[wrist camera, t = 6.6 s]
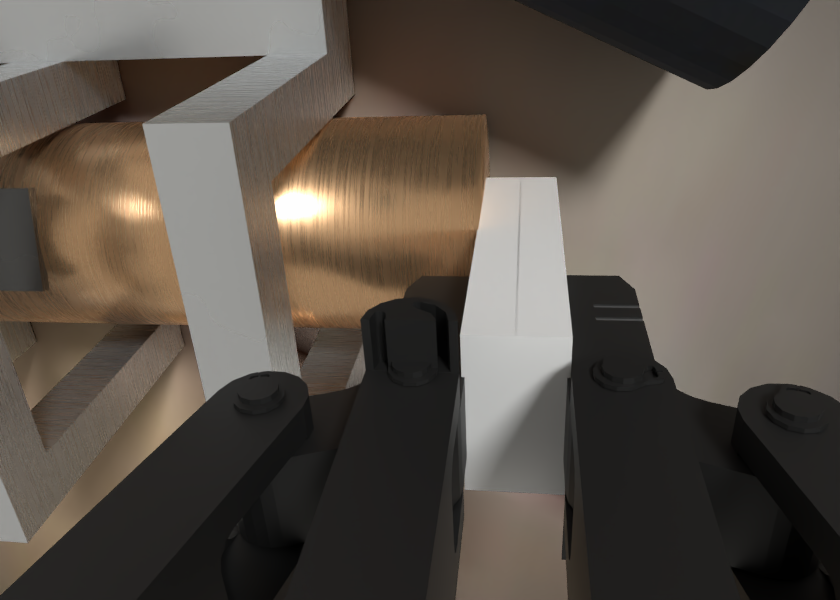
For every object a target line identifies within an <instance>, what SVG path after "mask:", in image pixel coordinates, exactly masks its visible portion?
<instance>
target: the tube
mask: <svg viewBox="0 0 840 600" xmlns="http://www.w3.org/2000/svg"><path fill="white" fill-rule="evenodd" d="M143 123H145V122H116V123H73V124H71V125H69V126H67V127H65V128H62V129H60V130H58V131H56V132H54V133H52V134H49V135H47V136H45V137H43V138H41V139H39V140H37V141H34V142H32V143H30V144H28V145H26V146H24V147H21V148H19V149H17V150H15V151H13V152H11V153H9V154H6V155H4V156H2V157H0V321H21V322H69V323H117V324H165V325H188V321H187V317H186V312H185V308H184V303H183V299H182V295H181V290H180V286H179V282H178V277H177V273H176V269H175V264H174V260H173V256H172V251H171V247H170V243H169V238H168V234H167V230H166V225H165V221H164V217H163V212H162V208H161V204H160V199H159V195H158V190H157V186H156V182H155V177H154V173H153V169H152V164H151V160H150V156H149V151H148V147H147V143H146V138H145V134H144V130H143V125H142V124H143ZM486 178H490V166H489V140H488V126H487V118H486V115H442V116H395V117H349V118H331V119H330V120H329V121H328V122H327V124H326V125H325V126H324V127H323V128H322V129H321V130H320V131H319V132H318V133H317V134H316V135H315V136H314V137H313V138H312V139H311V140H310V141H309V142H308V143H307V145H306V146H305V147H304V148H303V149H302V150H301V151H300V152H299V153H298V154H297V155H296V156H295V157H294V158H293V159H292V160H291V161H290V162H289V163H288V164H287V165H286V167H285V168H284V169H283V170H282V171H281V172H280V173H279V174H278V175H277V176H276V177H275V178H274V179H273V180H272V181H271V182H272V188H273V195H274V202H275V208H276V215H277V221H278V228H279V235H280V241H281V248H282V254H283V261H284V268H285V274H286V281H287V287H288V294H289V301H290V307H291V314H292V320H293V327H308V328H356V329H361V322H360V319H361V318H362V317H363V315H364V314H365V313H366V312H367V310H369V309H371V308H373V307H374V306H376V305H378V304H380V303H383V302H387V301H390V300H394V299H399V298H404V295H405V292H406V289H407V288H408V287H409V286H410V285H412V284H413V283H414V282H415V281H416V280H418V279H419V278H420V277H421V276H470V271H471V265H472V259H473V253H474V247H475V241H476V235H477V230H478V227H479V221H480V215H481V209H482V202H483V196H484V190H485V184H486Z"/></svg>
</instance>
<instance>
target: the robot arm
mask: <svg viewBox="0 0 840 600" xmlns="http://www.w3.org/2000/svg"><path fill="white" fill-rule="evenodd" d="M360 322H361V331H362V341H363V350H364V360H365V369H366V371H365V374H364V376H363V379H362V382H361V383H360V384H358V385H356V386H353V387H351V388H348V389H344V390H340V391H335V392H330V393H324V394H318V395H312V396H309V392H308V386H307V384H306V383H305V382H304V381H303V380H302V379H301V378H300V377H298V376H295V375H293V374H290V373H287V372H278V371H262V372H259V373H258V372H256V373H251V374H248V375H246V376H243V377H240V378H238V379H235V380H233V381H231V382H230V383H228V384H227V385H225V386H224V387H222V388H221V389H220V390H218V391H217V392H216V393H215V394H214V395H213V396H212V397H211V398H210V399H209V400H208V401H207V402H206V403H204V404H203V405H202V406H201V407H200V408H199V409H198V410H197V411H196V412H195V413H194V414H193V415H192V416H191V417H190V418H189V419H187V420H186V421H185V422H184V423H183V424H182V425H181V426H180V427H179V428H178V429H177V430H176V431H175V432H174V433H173V434H172V435H170V436H169V437H168V438H167V439H166V440H165V441H164V442H163V443H162V444H161V445H160V446H159V447H158V448H157V449H156V450H155V451H153V452H152V453H151V454H150V455H149V456H148V457H147V458H146V459H145V460H144V461H143V462H142V463H141V464H140V465H139V466H137V467H136V468H135V469H134V470H133V471H132V472H131V473H130V474H129V475H128V476H127V477H126V478H125V479H124V480H123V481H122V482H120V483H119V484H118V485H117V486H116V487H115V488H114V489H113V490H112V491H111V492H110V493H109V494H108V495H107V496H106V497H105V498H103V499H102V500H101V501H100V502H99V503H98V504H97V505H96V506H95V507H94V508H93V509H92V510H91V511H90V512H89V513H88V514H86V515H85V516H84V517H83V518H82V519H81V520H80V521H79V522H78V523H77V524H76V525H75V526H74V527H73V528H72V529H71V530H69V531H68V532H67V533H66V534H65V535H64V536H63V537H62V538H61V539H60V540H59V541H58V542H57V543H56V544H55V545H53V546H52V547H51V548H50V549H49V550H48V551H47V552H46V553H45V554H44V555H43V556H42V557H41V558H40V559H39V560H38V561H36V562H35V563H34V564H33V565H32V566H31V567H30V568H29V569H28V570H27V571H26V572H25V573H24V574H23V575H22V576H21V577H19V578H18V579H17V580H16V581H15V582H14V583H13V584H12V585H11V586H10V587H9V588H8V589H7V590H6V591H5V592H4V593H2V594H1V595H0V600H455V596H456V587H457V577H458V568H459V558H460V549H461V539H462V530H463V521H464V499H463V486H464V478H465V490H481V491H500V492H519V493H538V494H557V495H564V494H565V508H564V526H563V545H562V559H563V560H566V571H567V589H568V600H840V403H839V402H838V401H837V400H835V399H834V398H832V397H830V396H828V395H825V394H823V393H820V392H818V391H816V390H813V389H811V388H807V387H803V386H797V385H792V384H765V385H761V386H757V387H753V388H750V389H749V390H747V391H746V392H745V393H743V394H742V395H741V396H740V398H739V403H738V407H737V408H734V407H730V406H725V405H721V404H716V403H712V402H708V401H704V400H701V399H697V398H694V397H692V396H689V395H687V394H685V393H683V392H680V391H679V390H677V389H676V386H675V383H674V379H673V378H672V376H671V375H670V373H669V372H668V370H667V369H666V368H665V367H664V366H662V365H661V364H659V363H658V362H656V361H655V360H654V356H653V353H652V349H651V346H650V342H649V338H648V335H647V331H646V328H645V324H644V321H643V317H642V313H641V310H640V308H639V303H638V299H637V296H636V292H635V289H634V288H632V287H631V286H630V285H629V284H628V283H627V282H625V281H624V280H623V279H622V278H621V277H620V276H582V275H566V266H565V256H564V247H563V237H562V227H561V217H560V208H559V198H558V188H557V178H556V177H505V178H486V184H485V190H484V196H483V202H482V209H481V215H480V221H479V227H478V230H477V235H476V241H475V247H474V253H473V259H472V265H471V271H470V276H421V277H420V278H419V279H418V280H416V281H415V282H414V283H413V284H412V285H410V286H409V287H408V288H407V289H406V292H405V295H404V298H399V299H394V300H390V301H387V302H383V303H380V304H378V305H376V306H374V307H373V308H371V309H369V310H367V312H366V313H365V314H364V315H363V317H362V318H361V319H360Z"/></svg>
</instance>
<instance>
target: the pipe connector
mask: <svg viewBox="0 0 840 600" xmlns="http://www.w3.org/2000/svg"><path fill="white" fill-rule="evenodd" d="M515 1H517V2H520V3H522V4H524V5H526V6H528V7H530V8H532V9H535V10H537V11H539V12H541V13H543V14H545V15H548V16H550V17H552V18H554V19H556V20H558V21H561V22H563V23H565V24H567V25H569V26H571V27H573V28H576V29H578V30H580V31H582V32H584V33H586V34H589V35H591V36H593V37H595V38H597V39H599V40H601V41H604V42H606V43H608V44H610V45H612V46H614V47H617V48H619V49H621V50H623V51H625V52H627V53H629V54H632V55H634V56H636V57H638V58H640V59H642V60H645V61H647V62H649V63H651V64H653V65H655V66H658V67H660V68H662V69H664V70H666V71H668V72H670V73H673V74H675V75H677V76H679V77H681V78H683V79H686V80H688V81H690V82H692V83H694V84H696V85H698V86H701V87H703V88H705V89H715V88H719V87H721V86H723V85H725V84H727V83H729V82H731V81H732V80H734V79H735V78H736V77H738V76H739V75H740V74H742V73H743V72H744V71H745V70H747V69H748V68H749V67H750V66H751V65H752V64H753V63H755V62H756V61H757V60H758V59H759V58H760V57H761V56H762V55H763V54H764V53H765V52H766V51H767V50H768V49H769V48H770V47H771V46H772V45H773V44H774V43H775V41H776V40H777V39H778V38H779V37H780V36H781V35H782V34H783V33H784V31H785V30H786V29H787V28H788V27H789V26H790V25H791V24H792V22H793V21H794V20H795V19H796V17H797V16H798V15H799V13H800V12H801V11H802V10H803V8H804V7H805V6H806V4H807V3H808V2H809V1H810V0H515Z"/></svg>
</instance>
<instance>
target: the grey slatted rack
mask: <svg viewBox="0 0 840 600" xmlns="http://www.w3.org/2000/svg"><path fill="white" fill-rule="evenodd" d="M263 55H267V56H265V57H263V58H261V59H260V60H258V61H256V62H254V63H252V64H251V65H249V66H247V67H245V68H243V69H241V70H240V71H238V72H236V73H234V74H232V75H230V76H229V77H227V78H225V79H223V80H221V81H220V82H218V83H216V84H214V85H212V86H210V87H209V88H207V89H205V90H203V91H201V92H200V93H198V94H196V95H194V96H192V97H190V98H189V99H187V100H185V101H183V102H181V103H180V104H178V105H176V106H174V107H172V108H170V109H169V110H167V111H165V112H163V113H161V114H159V115H158V116H156V117H154V118H152V119H150V120H149V121H147V122H145V123H143V124H142V125H143V130H144V134H145V138H146V143H147V147H148V151H149V156H150V160H151V164H152V169H153V173H154V177H155V182H156V186H157V190H158V195H159V199H160V204H161V208H162V212H163V217H164V221H165V225H166V230H167V234H168V238H169V243H170V247H171V251H172V256H173V260H174V264H175V269H176V273H177V277H178V282H179V286H180V290H181V295H182V299H183V303H184V308H185V312H186V317H187V321H188V325H189V330H190V334H191V338H192V343H193V347H194V351H195V356H196V360H197V364H198V369H199V373H200V377H201V382H202V386H203V390H204V395H205V399H206V402H207V401H208V400H209V399H210V398H211V397H212V396H213V395H214V394H215V393H216V392H217V391H218V390H220V389H221V388H222V387H224V386H225V385H227V384H228V383H230V382H231V381H233V380H235V379H238V378H240V377H243V376H246V375H248V374H251V373H256V372H258V373H259V372H262V371H278V372H287V373H290V374H293V375H295V376H298V377H300V378H301V379H302V380H303V381H304V382H305V383H306V384H307V386H308V392H309V396H312V395H318V394H324V393H330V392H335V391H340V390H344V389H348V388H351V387H353V386H356V385H358V384H360V383H361V382H362V379H363V376H364V374H365V371H366V369H365V360H364V350H363V341H362V331H361V329H356V328H321V330H320V332H319V334H318V336H317V338H316V340H315V342H314V344H313V346H312V348H311V350H310V352H309V354H308V356H307V358H306V360H305V362H304V364H303V366H302V368H301V370H300V367H299V360H298V353H297V347H296V340H295V334H294V327H293V320H292V314H291V307H290V301H289V294H288V287H287V281H286V274H285V268H284V261H283V254H282V248H281V241H280V235H279V228H278V221H277V215H276V208H275V202H274V195H273V188H272V182H271V181H272V180H273V179H274V178H275V177H276V176H277V175H278V174H279V173H280V172H281V171H282V170H283V169H284V168H285V167H286V165H287V164H288V163H289V162H290V161H291V160H292V159H293V158H294V157H295V156H296V155H297V154H298V153H299V152H300V151H301V150H302V149H303V148H304V147H305V146H306V145H307V143H308V142H309V141H310V140H311V139H312V138H313V137H314V136H315V135H316V134H317V133H318V132H319V131H320V130H321V129H322V128H323V127H324V126H325V125H326V124H327V122H328V121H329V120H330V119H331V118H332V117H333V116H334V115H335V114H336V113H337V112H338V111H339V110H340V109H341V108H342V107H343V106H344V105H345V104H346V103H347V102H348V100H349V99H350V98H351V97H352V96H353V95H354V94H355V93H354V82H353V70H352V59H351V48H350V37H349V26H348V15H347V4H346V0H0V63H8V64H5V65H1V66H0V157H2V156H4V155H6V154H9V153H11V152H13V151H15V150H17V149H19V148H21V147H24V146H26V145H28V144H30V143H32V142H34V141H37V140H39V139H41V138H43V137H45V136H47V135H49V134H52V133H54V132H56V131H58V130H60V129H62V128H65V127H67V126H69V125H71V124H73V123H75V122H77V121H80V120H82V119H84V118H86V117H88V116H90V115H92V114H95V113H97V112H99V111H101V110H103V109H105V108H108V107H110V106H112V105H114V104H116V103H118V102H120V101H123V100H125V99H126V98H125V94H124V89H123V85H122V81H121V77H120V72H119V68H118V64H117V60H129V59H163V58H196V57H230V56H263ZM35 342H37V341H36V339H35V336H34V333H33V330H32V327H31V324H30V322H21V321H0V541H7V542H21V543H28V542H29V541H30V540H31V538H32V537H33V536H34V535H35V533H36V532H37V531H38V530H39V528H40V527H41V526H42V525H43V523H44V522H45V521H46V520H47V518H48V517H49V516H50V515H51V513H52V512H53V511H54V509H55V508H56V507H57V506H58V504H59V503H60V502H61V501H62V499H63V498H64V497H65V496H66V494H67V493H68V492H69V491H70V489H71V488H72V487H73V486H74V484H75V483H76V482H77V480H78V479H79V478H80V477H81V475H82V474H83V473H84V472H85V470H86V469H87V468H88V467H89V465H90V464H91V463H92V462H93V460H94V459H95V458H96V457H97V455H98V454H99V453H100V451H101V450H102V449H103V448H104V446H105V445H106V444H107V443H108V441H109V440H110V439H111V438H112V436H113V435H114V434H115V433H116V431H117V430H118V429H119V428H120V426H121V425H122V424H123V422H124V421H125V420H126V419H127V417H128V416H129V415H130V414H131V412H132V411H133V410H134V409H135V407H136V406H137V405H138V404H139V402H140V401H141V400H142V399H143V397H144V396H145V395H146V393H147V392H148V391H149V390H150V388H151V387H152V386H153V385H154V383H155V382H156V381H157V380H158V378H159V377H160V376H161V375H162V373H163V372H164V371H165V370H166V368H167V367H168V366H169V364H170V363H171V362H172V361H173V359H174V358H175V357H176V356H177V354H178V353H179V352H180V351H181V349H182V348H183V347H184V343H183V338H182V334H181V330H180V326H179V325H165V324H117V325H116V326H115V327H114V328H113V329H112V330H111V331H110V332H109V333H108V334H107V335H106V336H105V337H104V338H103V339H102V340H101V341H100V342H99V343H98V344H97V345H96V346H95V347H94V348H93V349H92V350H91V351H90V352H89V353H88V354H87V355H86V356H85V357H84V358H83V359H82V360H81V361H80V362H79V363H78V364H77V365H76V366H75V367H74V368H73V369H72V370H71V371H70V372H69V373H68V374H67V375H66V376H65V377H64V378H63V379H62V380H61V381H60V382H59V383H58V384H57V385H56V386H55V387H54V388H53V389H52V390H51V391H50V392H49V393H48V394H47V395H46V396H45V397H44V398H43V399H42V400H41V401H40V402H39V403H38V404H37V405H36V406H35V407H34V408H33V409H32V410H31V411H30V408H29V405H28V403H27V400H26V397H25V395H24V392H23V389H22V387H21V384H20V381H19V379H18V376H17V373H16V371H15V368H14V365H13V362H14V361H15V360H16V359H17V358H18V357H19V356H21V355H22V354H23V353H24V352H25V351H26V350H27V349H29V348H30V347H31V346H32V345H33V344H34V343H35Z"/></svg>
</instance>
